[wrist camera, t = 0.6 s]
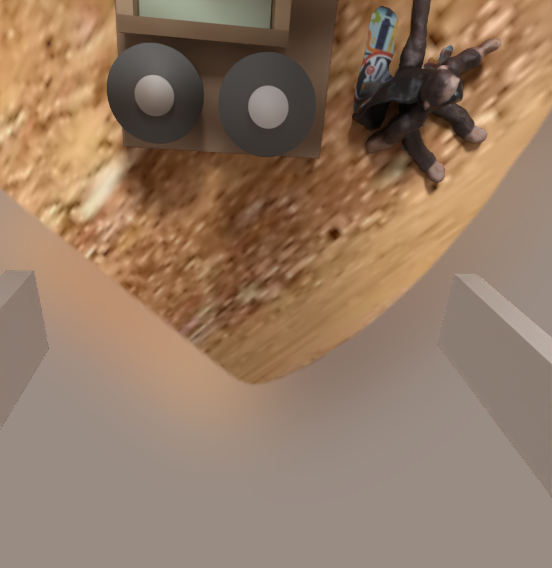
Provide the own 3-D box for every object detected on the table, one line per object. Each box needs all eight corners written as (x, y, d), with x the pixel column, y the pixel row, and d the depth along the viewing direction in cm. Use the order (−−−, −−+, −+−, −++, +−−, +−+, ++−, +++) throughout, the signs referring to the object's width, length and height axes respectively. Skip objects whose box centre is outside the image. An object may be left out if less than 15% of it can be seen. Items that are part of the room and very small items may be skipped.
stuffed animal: (401, 208, 39) (368, 115, 29) (347, 138, 44) (303, 38, 34) (528, 126, 37) (540, -4, 27) (456, 62, 42) (444, -68, 32)
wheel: (219, 48, 29) (219, 46, 26) (314, 57, 29) (323, 56, 27) (217, 148, 31) (216, 155, 29) (305, 153, 32) (312, 161, 29)
